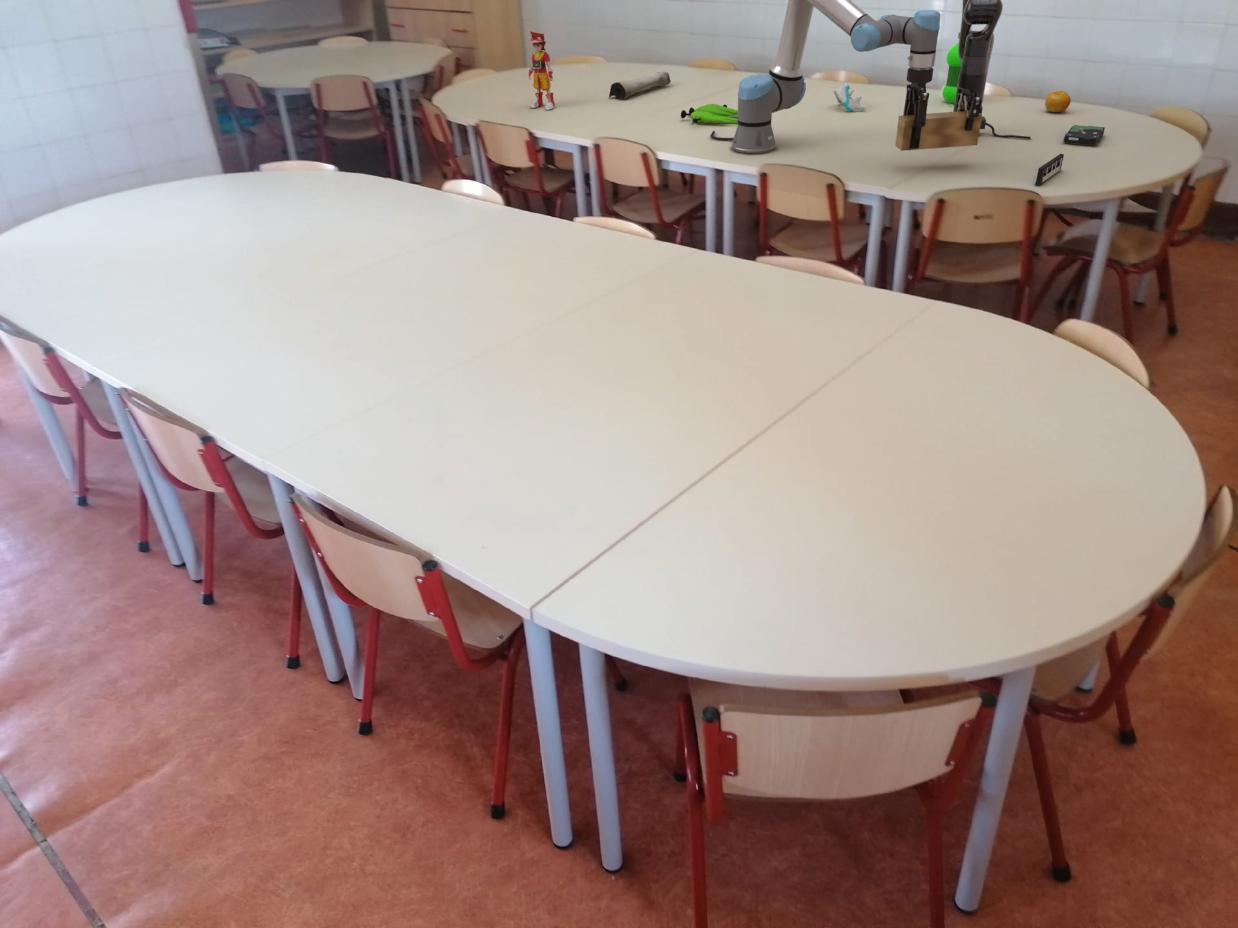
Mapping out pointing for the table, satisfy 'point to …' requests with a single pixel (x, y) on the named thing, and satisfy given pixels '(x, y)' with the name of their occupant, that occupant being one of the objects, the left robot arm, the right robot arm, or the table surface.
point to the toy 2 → (711, 114)
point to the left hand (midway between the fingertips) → (910, 145)
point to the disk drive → (1084, 135)
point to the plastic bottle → (952, 74)
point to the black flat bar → (1049, 169)
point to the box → (939, 131)
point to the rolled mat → (638, 84)
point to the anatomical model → (847, 98)
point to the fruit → (1057, 101)
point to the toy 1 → (541, 71)
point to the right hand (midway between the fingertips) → (964, 127)
